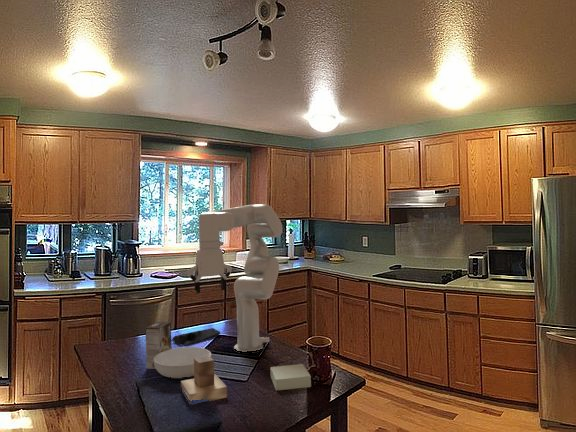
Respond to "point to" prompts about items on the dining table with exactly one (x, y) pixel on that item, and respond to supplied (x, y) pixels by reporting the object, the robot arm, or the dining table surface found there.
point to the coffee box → (157, 341)
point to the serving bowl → (178, 361)
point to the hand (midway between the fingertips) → (210, 291)
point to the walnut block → (204, 371)
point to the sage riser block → (290, 377)
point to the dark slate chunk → (195, 336)
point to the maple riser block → (204, 390)
